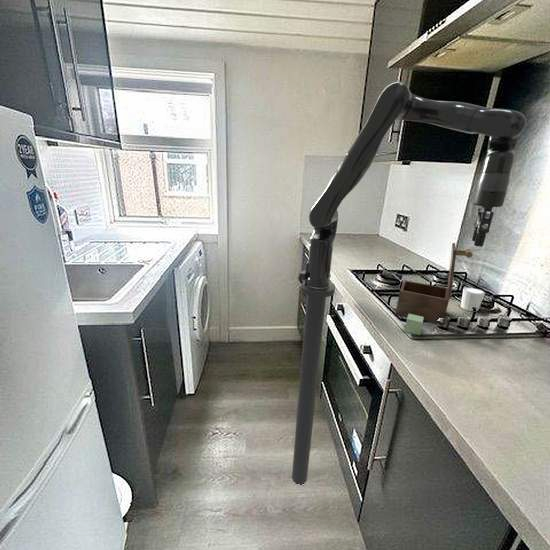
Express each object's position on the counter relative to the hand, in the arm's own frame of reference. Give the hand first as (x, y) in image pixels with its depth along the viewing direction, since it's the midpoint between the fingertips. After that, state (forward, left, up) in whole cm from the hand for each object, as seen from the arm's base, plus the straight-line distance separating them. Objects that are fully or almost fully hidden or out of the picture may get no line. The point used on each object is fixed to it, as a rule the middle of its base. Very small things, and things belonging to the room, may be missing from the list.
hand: (476, 243), depth 93 cm
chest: (-11, 0, -26) cm, 29 cm away
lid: (-5, 0, -10) cm, 11 cm away
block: (-12, -16, -26) cm, 33 cm away
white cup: (+5, +15, -27) cm, 31 cm away
